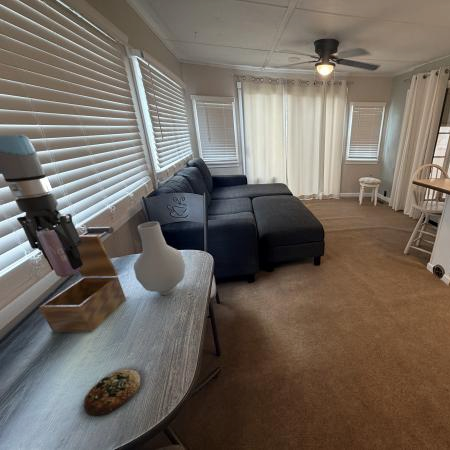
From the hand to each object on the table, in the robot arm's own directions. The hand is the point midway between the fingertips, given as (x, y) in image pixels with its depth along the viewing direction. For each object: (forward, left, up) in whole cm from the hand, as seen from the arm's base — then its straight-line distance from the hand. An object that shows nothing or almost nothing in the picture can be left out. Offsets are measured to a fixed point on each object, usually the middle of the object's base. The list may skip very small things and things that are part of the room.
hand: (67, 267), depth 74 cm
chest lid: (0, +8, -1) cm, 8 cm away
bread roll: (+27, -25, -20) cm, 42 cm away
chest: (0, +1, -20) cm, 20 cm away
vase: (+18, +15, -20) cm, 31 cm away
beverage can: (0, 0, -2) cm, 2 cm away
